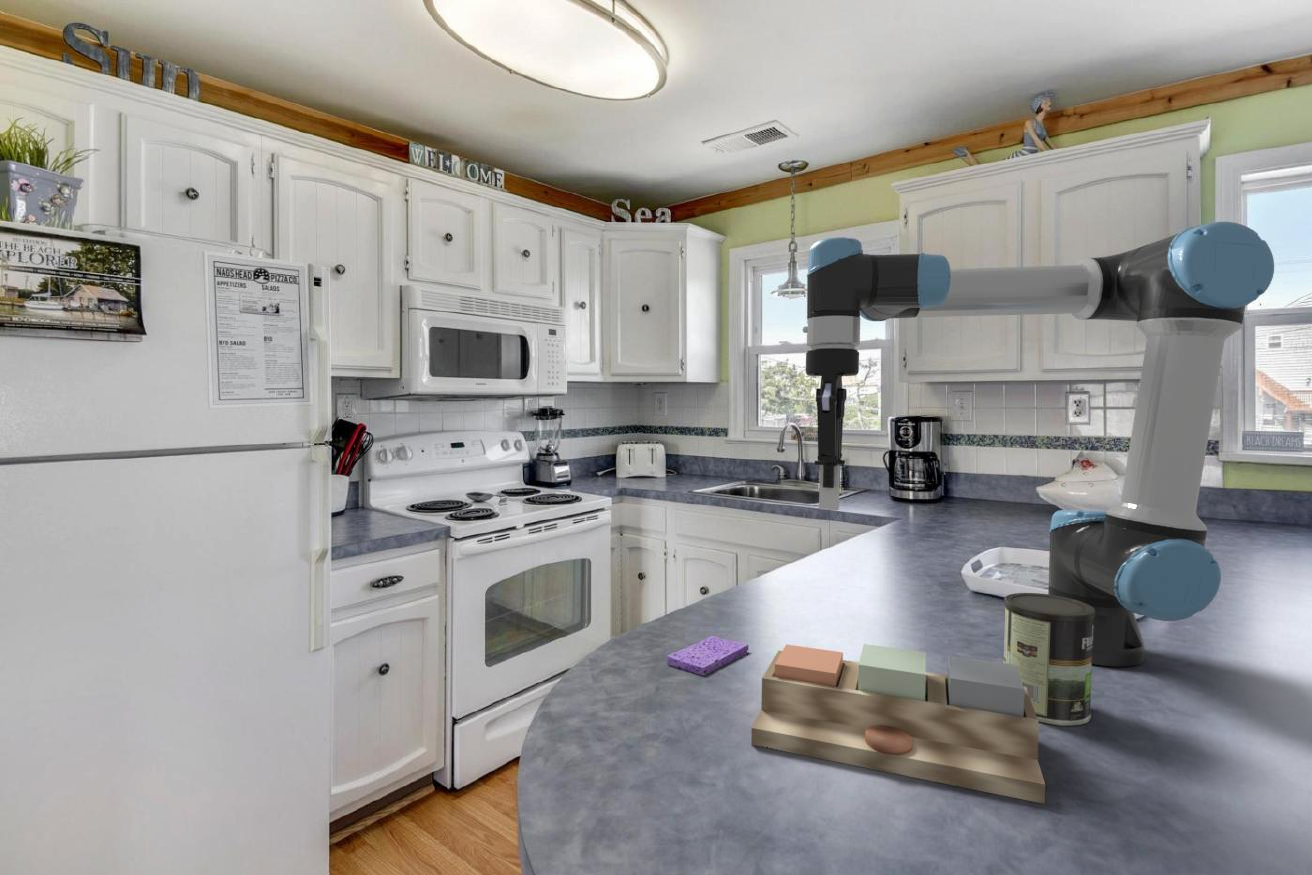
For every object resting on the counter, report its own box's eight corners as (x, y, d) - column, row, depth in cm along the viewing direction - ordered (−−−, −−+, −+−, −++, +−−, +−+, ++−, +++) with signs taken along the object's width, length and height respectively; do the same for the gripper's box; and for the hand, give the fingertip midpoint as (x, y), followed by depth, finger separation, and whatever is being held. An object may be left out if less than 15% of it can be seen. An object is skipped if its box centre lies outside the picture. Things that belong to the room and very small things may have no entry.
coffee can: (1089, 702, 90) (1094, 599, 89) (1091, 734, 81) (1096, 620, 81) (1004, 685, 95) (1007, 587, 95) (997, 713, 87) (1000, 606, 86)
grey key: (1014, 705, 80) (1016, 664, 80) (1022, 733, 73) (1024, 689, 73) (947, 695, 83) (948, 655, 82) (949, 721, 76) (950, 678, 76)
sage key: (924, 691, 84) (925, 652, 83) (924, 717, 77) (925, 674, 77) (863, 681, 86) (864, 643, 86) (857, 705, 80) (858, 664, 79)
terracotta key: (842, 689, 88) (842, 652, 87) (834, 714, 81) (835, 673, 80) (785, 680, 90) (786, 644, 90) (774, 703, 83) (774, 663, 83)
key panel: (1024, 735, 81) (1026, 686, 81) (1044, 803, 67) (1046, 745, 67) (777, 693, 92) (778, 650, 92) (751, 744, 78) (752, 694, 78)
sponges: (666, 667, 102) (666, 655, 102) (712, 644, 112) (713, 633, 112) (703, 679, 98) (703, 667, 98) (749, 654, 107) (749, 643, 107)
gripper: (813, 352, 105) (810, 501, 106) (798, 345, 93) (795, 514, 94) (863, 351, 102) (859, 504, 103) (854, 344, 90) (850, 517, 91)
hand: (828, 508), depth 99 cm, fingers closed
